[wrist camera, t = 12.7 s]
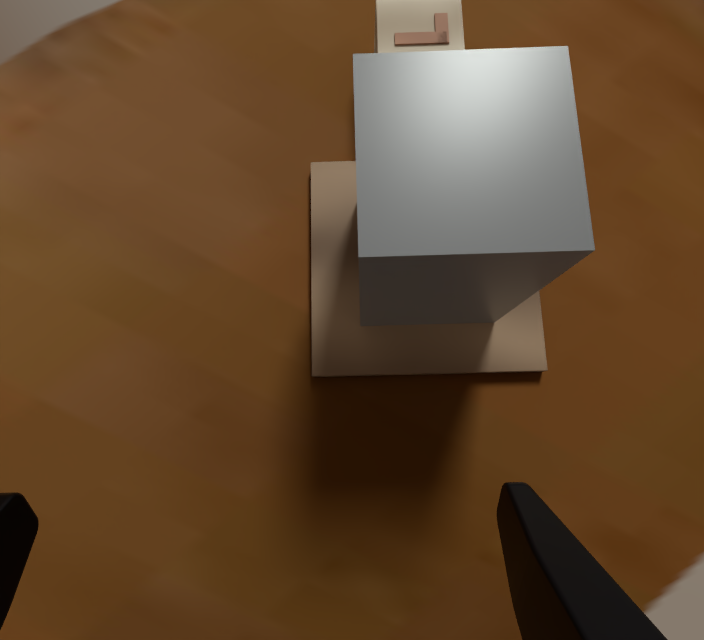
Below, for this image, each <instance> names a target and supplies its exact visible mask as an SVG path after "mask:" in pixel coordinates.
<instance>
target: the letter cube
mask: <svg viewBox="0 0 704 640" xmlns="http://www.w3.org/2000/svg"><path fill="white" fill-rule="evenodd" d="M448 50H465V48H464V34H463V21H462V7H461V0H376V8H375V42H374V53H394V52H421V51H448Z"/></svg>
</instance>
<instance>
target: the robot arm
mask: <svg viewBox="0 0 704 640" xmlns="http://www.w3.org/2000/svg"><path fill="white" fill-rule="evenodd" d="M497 522H498V528H499V533H500V539H501V544H502V550H503V555H504V560H505V566H506V571H507V577H508V582H509V587H510V593H511V598H512V603H513V607H514V611H515V615H516V619H517V622H518V626H519V629H520V633H521V636H522V639H523V640H667V639H666V637H664V635H663V634H662V633H661V632H660V631H659V630H658V629H657V627H656V626H655V625H654V624H653V623H652V622H651V621H650V620H649V618H648V617H647V616H646V615H645V614H644V613H643V612H642V611H641V610H640V608H639V607H638V606H637V605H636V604H635V603H634V602H633V601H632V600H631V598H630V597H629V596H628V595H627V594H626V593H625V592H624V591H623V590H622V588H621V587H620V586H619V585H618V584H617V583H616V582H615V581H614V579H613V578H612V577H611V576H610V575H609V574H608V573H607V572H606V571H605V569H604V568H603V567H602V566H601V565H600V564H599V563H598V562H597V561H596V559H595V558H594V557H593V556H592V555H591V554H590V553H589V552H588V551H587V549H586V548H585V547H584V546H583V545H582V544H581V543H580V542H579V540H578V539H577V538H576V537H575V536H574V535H573V534H572V533H571V532H570V530H569V529H568V528H567V527H566V526H565V525H564V524H563V523H562V522H561V520H560V519H559V518H558V517H557V516H556V515H555V514H554V513H553V512H552V510H551V509H550V508H549V507H548V506H547V505H546V504H545V503H544V501H543V500H542V499H541V498H540V497H539V496H538V495H537V494H536V493H535V491H534V490H533V489H532V488H531V487H530V486H529V485H528V484H526V483H524V482H507V483H504V484H503V486H502V489H501V493H500V498H499V502H498V507H497ZM37 531H38V518H37V516H36V514H35V513H34V511H33V510H32V508H31V507H30V505H29V504H28V502H27V500H26V499H25V497H24V496H23V495H22V494H20V493H0V629H1V627H2V625H3V623H4V620H5V618H6V616H7V613H8V611H9V608H10V606H11V603H12V601H13V598H14V595H15V592H16V590H17V587H18V584H19V581H20V578H21V576H22V573H23V570H24V567H25V565H26V562H27V559H28V556H29V553H30V551H31V548H32V545H33V542H34V540H35V537H36V534H37Z"/></svg>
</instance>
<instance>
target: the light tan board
mask: <svg viewBox="0 0 704 640" xmlns="http://www.w3.org/2000/svg"><path fill="white" fill-rule="evenodd" d="M311 300H312V376H313V377H334V376H375V375H417V374H459V373H501V372H543V371H547V362H546V352H545V342H544V333H543V323H542V314H541V304H540V295H539V291H538V292H536V293H535V294H533V295H532V296H531V297H529V298H528V299H526V300H525V301H524V302H522V303H521V304H520V305H518V306H517V307H515V308H514V309H513V310H511V311H510V312H508V313H507V314H506V315H504V316H503V317H502V318H500V319H499V320H497V321H496V322H494V323H457V324H420V325H383V326H360V294H359V258H358V222H357V185H356V161H340V162H311Z"/></svg>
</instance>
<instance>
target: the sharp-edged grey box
mask: <svg viewBox="0 0 704 640" xmlns="http://www.w3.org/2000/svg"><path fill="white" fill-rule="evenodd" d="M353 75H354V112H355V148H356V185H357V222H358V258H359V294H360V326H383V325H420V324H457V323H494V322H496V321H497V320H499V319H500V318H502V317H503V316H504V315H506V314H507V313H508V312H510V311H511V310H513V309H514V308H515V307H517V306H518V305H520V304H521V303H522V302H524V301H525V300H526V299H528V298H529V297H531V296H532V295H533V294H535V293H536V292H538V291H539V290H540V289H542V288H543V287H545V286H546V285H547V284H549V283H550V282H551V281H553V280H554V279H556V278H557V277H558V276H560V275H561V274H563V273H564V272H565V271H567V270H568V269H569V268H571V267H572V266H574V265H575V264H576V263H578V262H579V261H581V260H582V259H583V258H585V257H586V256H588V255H589V254H590V253H592V252H593V251H594V250H595V247H594V240H593V232H592V225H591V217H590V210H589V202H588V195H587V187H586V179H585V172H584V164H583V157H582V149H581V142H580V134H579V127H578V119H577V112H576V104H575V97H574V89H573V82H572V74H571V67H570V59H569V52H568V46H555V47H528V48H501V49H475V50H448V51H421V52H394V53H367V54H353Z"/></svg>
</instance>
